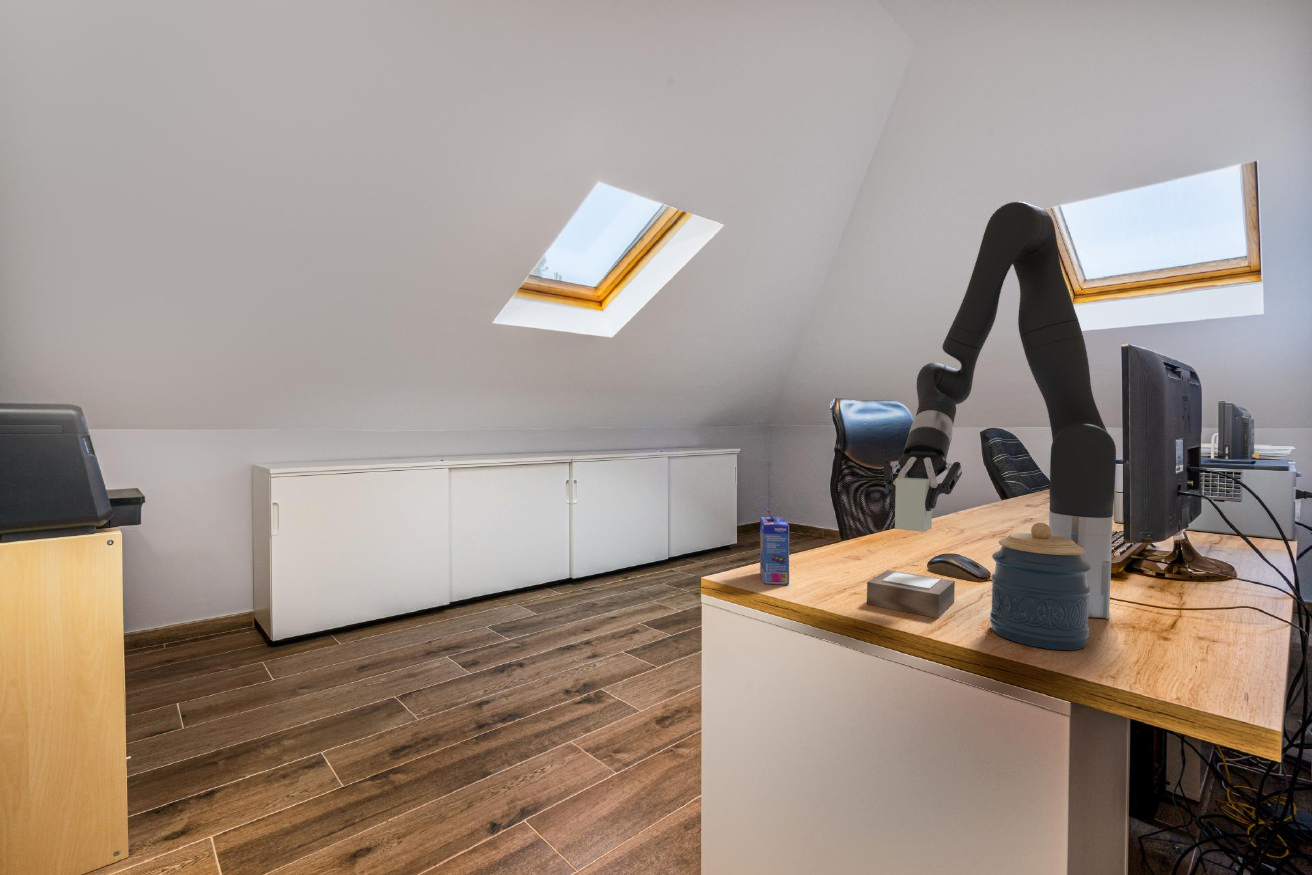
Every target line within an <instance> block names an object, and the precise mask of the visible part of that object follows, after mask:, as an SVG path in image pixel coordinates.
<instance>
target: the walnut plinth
mask: <svg viewBox="0 0 1312 875" xmlns="http://www.w3.org/2000/svg"><path fill="white" fill-rule="evenodd" d="M866 585H867V586H866V605H869V606H875V607H880V608H884V609H885V608H886V609H890V610H895V611H900V612H906V613H910V614H915V615H920V616H924V617H925V616H926V617H930V618H935V619H940V618H941V616H943V614H944V613H945V612H946V611H948V609H950V607H952V605H953V604H954V603H955V592H956V591H955V587H956V580H951V579H944V578H939V577H932V576H927V575H926V576H925V575H921V574H920V575H919V574H914V573H907V572H902V571H895V570H890V569H888V570H886V571H884V572H882V573H880V574H879V575H876V576H875V577H873V578H872V579H869V580H868V581H867V582H866Z"/></svg>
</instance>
